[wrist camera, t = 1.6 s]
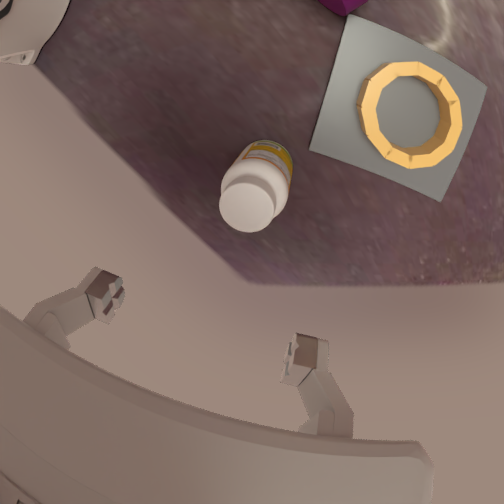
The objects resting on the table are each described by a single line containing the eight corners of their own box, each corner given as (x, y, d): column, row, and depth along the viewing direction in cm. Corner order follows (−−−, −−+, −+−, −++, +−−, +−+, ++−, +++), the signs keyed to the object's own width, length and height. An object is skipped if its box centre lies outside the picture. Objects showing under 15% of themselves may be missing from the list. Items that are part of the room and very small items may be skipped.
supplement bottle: (258, 196, 30) (236, 251, 22) (229, 155, 27) (195, 195, 20) (303, 175, 27) (298, 224, 20) (275, 129, 25) (257, 159, 17)
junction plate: (308, 147, 25) (308, 157, 23) (347, 15, 17) (352, 7, 14) (437, 198, 25) (449, 213, 22) (482, 85, 16) (500, 90, 14)
